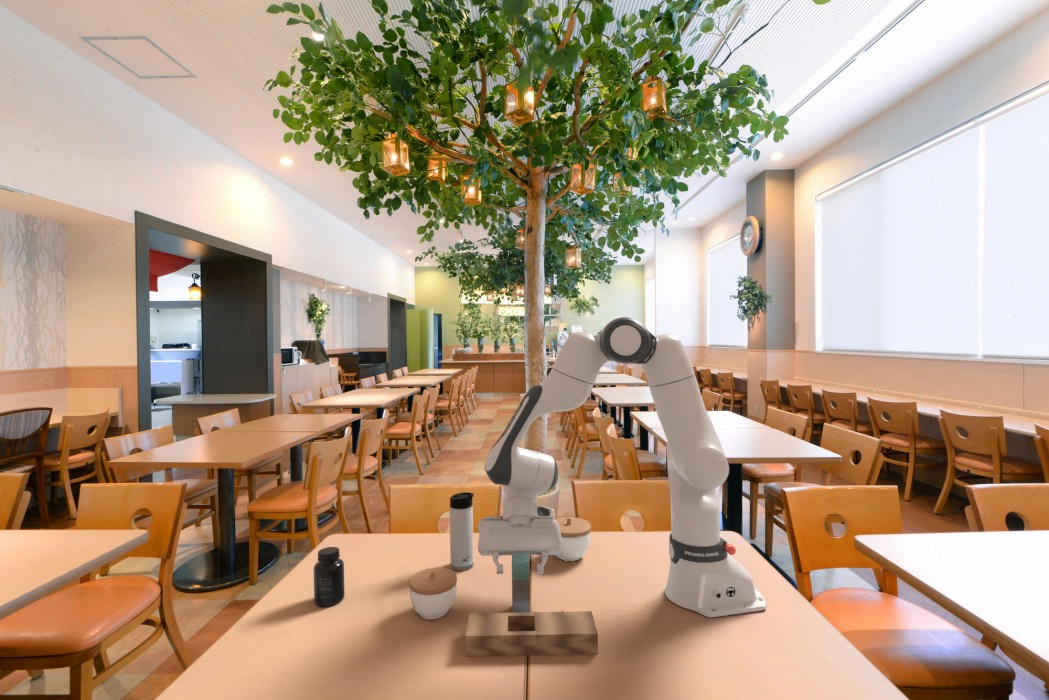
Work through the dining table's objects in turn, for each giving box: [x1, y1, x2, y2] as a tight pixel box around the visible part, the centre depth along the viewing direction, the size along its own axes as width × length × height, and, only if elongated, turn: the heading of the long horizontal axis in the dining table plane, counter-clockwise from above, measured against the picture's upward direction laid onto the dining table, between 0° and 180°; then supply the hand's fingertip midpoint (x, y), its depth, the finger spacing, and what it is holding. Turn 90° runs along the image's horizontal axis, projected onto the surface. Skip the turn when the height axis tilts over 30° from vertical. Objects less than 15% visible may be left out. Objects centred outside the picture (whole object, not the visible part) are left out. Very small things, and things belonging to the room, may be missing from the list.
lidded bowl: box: [555, 516, 592, 562], centre depth 140 cm, size 13×13×11 cm
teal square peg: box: [511, 555, 531, 613], centre depth 112 cm, size 4×4×12 cm
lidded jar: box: [408, 567, 458, 621], centre depth 111 cm, size 11×11×9 cm
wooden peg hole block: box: [464, 610, 599, 657], centre depth 100 cm, size 26×8×4 cm, turn 91°
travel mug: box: [449, 491, 475, 572], centre depth 134 cm, size 6×7×20 cm
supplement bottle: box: [313, 546, 346, 608], centre depth 117 cm, size 7×7×12 cm
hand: (520, 573), depth 113 cm, fingers open, 8 cm apart
